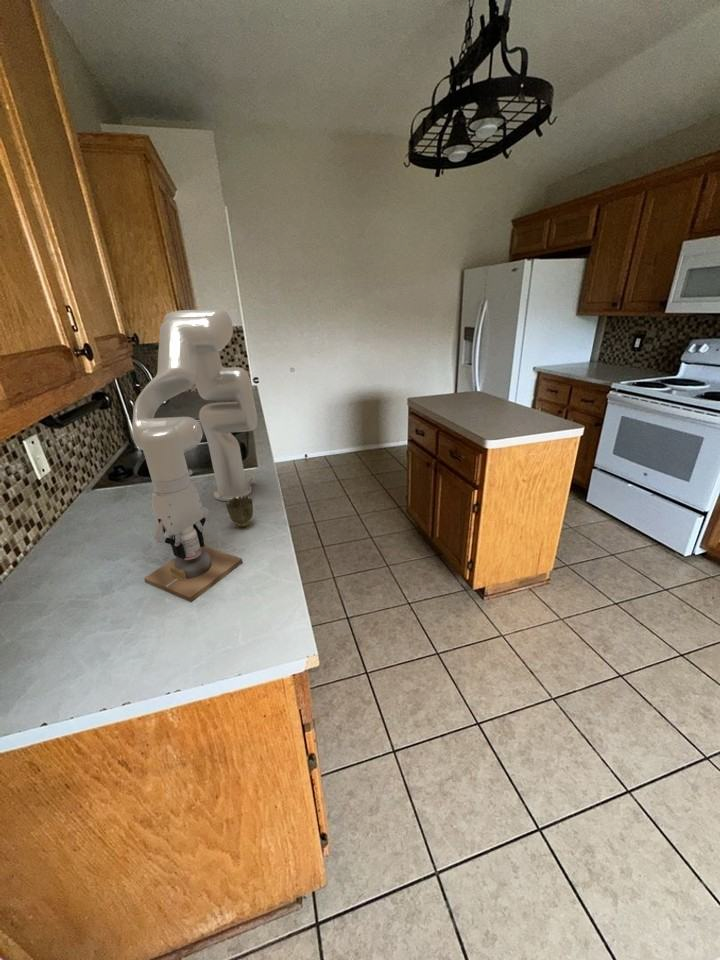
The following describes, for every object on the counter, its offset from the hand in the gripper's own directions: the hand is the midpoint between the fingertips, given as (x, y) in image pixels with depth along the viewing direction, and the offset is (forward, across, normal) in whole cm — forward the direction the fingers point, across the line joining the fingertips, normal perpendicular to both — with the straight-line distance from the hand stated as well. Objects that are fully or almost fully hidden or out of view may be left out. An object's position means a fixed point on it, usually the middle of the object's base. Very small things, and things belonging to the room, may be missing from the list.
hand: (190, 550), depth 94 cm
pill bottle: (+1, 0, 0) cm, 1 cm away
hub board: (+6, 0, 0) cm, 6 cm away
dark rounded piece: (+6, -22, -5) cm, 23 cm away
